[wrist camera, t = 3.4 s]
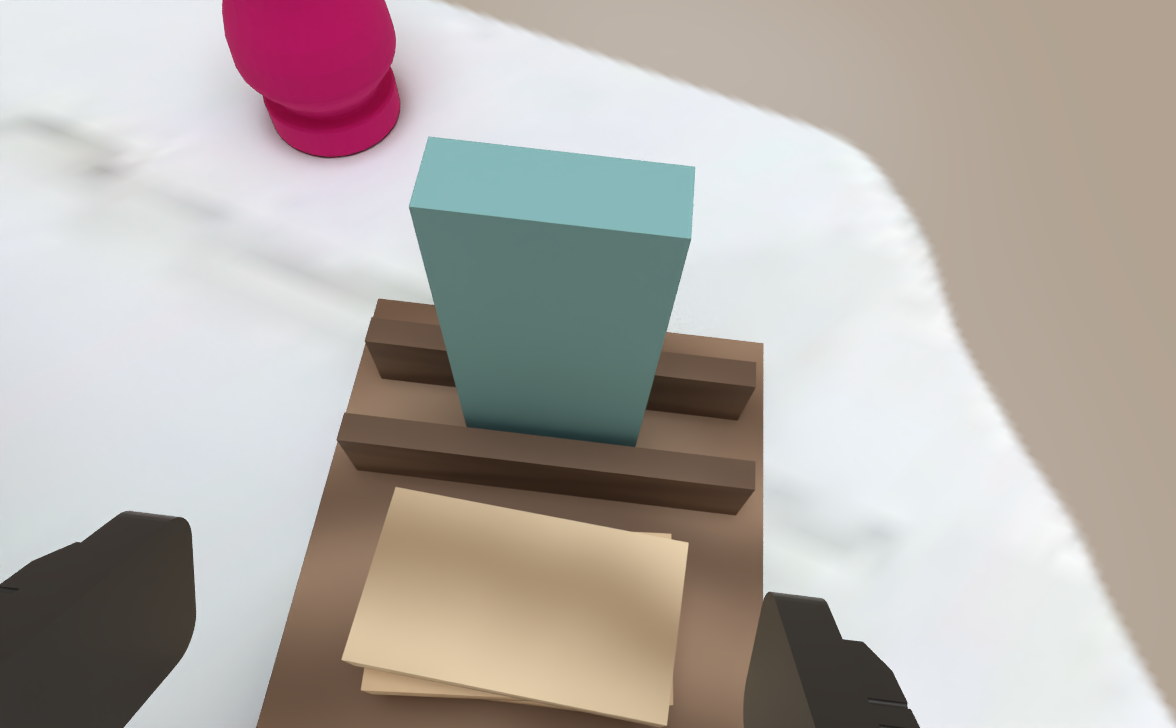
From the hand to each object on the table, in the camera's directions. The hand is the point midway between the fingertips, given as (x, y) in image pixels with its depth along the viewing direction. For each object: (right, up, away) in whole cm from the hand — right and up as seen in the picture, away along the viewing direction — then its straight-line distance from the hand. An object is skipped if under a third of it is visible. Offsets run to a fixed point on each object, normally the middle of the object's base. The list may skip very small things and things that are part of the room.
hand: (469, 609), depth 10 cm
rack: (0, -3, +18) cm, 18 cm away
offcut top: (0, -4, +12) cm, 13 cm away
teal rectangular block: (0, +1, +18) cm, 18 cm away
